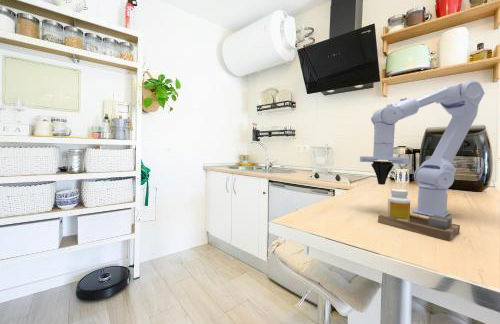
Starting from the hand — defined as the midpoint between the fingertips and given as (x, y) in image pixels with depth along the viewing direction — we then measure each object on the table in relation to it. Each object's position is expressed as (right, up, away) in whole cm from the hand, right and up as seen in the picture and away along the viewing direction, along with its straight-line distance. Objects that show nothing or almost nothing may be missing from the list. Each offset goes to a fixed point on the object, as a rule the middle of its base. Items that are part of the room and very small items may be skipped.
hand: (381, 184), depth 73 cm
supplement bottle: (-1, -11, -9) cm, 14 cm away
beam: (+2, -11, -13) cm, 17 cm away
